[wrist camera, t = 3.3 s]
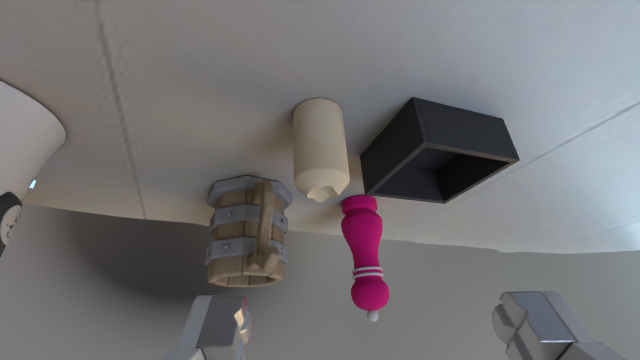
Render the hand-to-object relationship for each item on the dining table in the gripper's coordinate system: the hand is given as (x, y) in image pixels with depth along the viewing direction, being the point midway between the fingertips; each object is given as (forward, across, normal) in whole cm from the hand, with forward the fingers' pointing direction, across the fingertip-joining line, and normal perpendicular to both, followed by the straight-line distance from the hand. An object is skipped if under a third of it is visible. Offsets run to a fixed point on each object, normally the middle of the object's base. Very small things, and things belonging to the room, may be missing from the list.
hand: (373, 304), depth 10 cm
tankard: (+34, +11, +19) cm, 41 cm away
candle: (+27, +2, +4) cm, 27 cm away
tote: (+30, -12, +9) cm, 34 cm away
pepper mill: (+39, -6, +26) cm, 47 cm away
